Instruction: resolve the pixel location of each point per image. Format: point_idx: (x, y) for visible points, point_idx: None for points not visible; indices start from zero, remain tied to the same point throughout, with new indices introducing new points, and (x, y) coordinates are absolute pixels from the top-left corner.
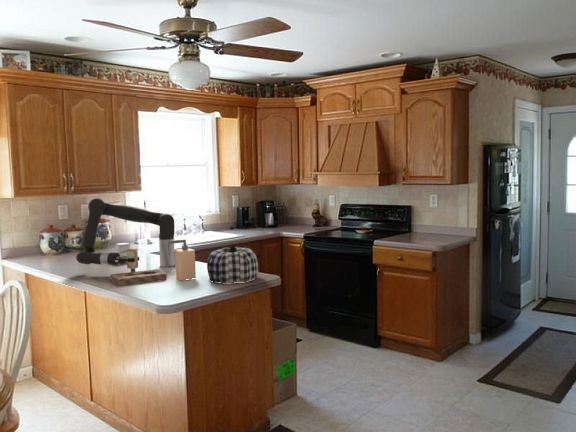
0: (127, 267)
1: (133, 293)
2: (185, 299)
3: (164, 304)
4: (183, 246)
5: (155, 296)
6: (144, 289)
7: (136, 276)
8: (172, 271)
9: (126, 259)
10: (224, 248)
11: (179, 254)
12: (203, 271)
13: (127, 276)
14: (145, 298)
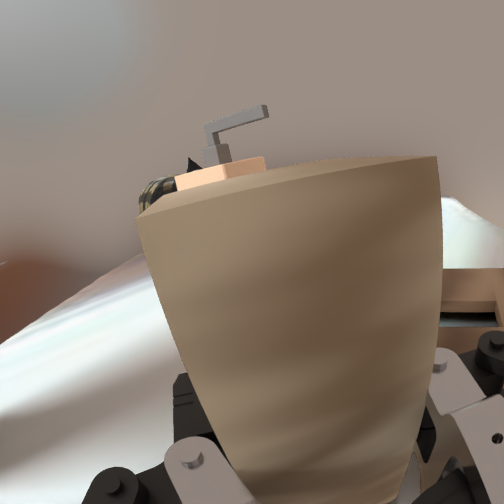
0: (396, 491)
1: (484, 234)
2: None
3: (445, 198)
4: (228, 146)
5: (443, 215)
6: (447, 246)
7: (443, 277)
8: (95, 386)
9: (458, 356)
10: (178, 174)
11: (263, 168)
12: (106, 313)
13: (487, 293)
14: (466, 213)
